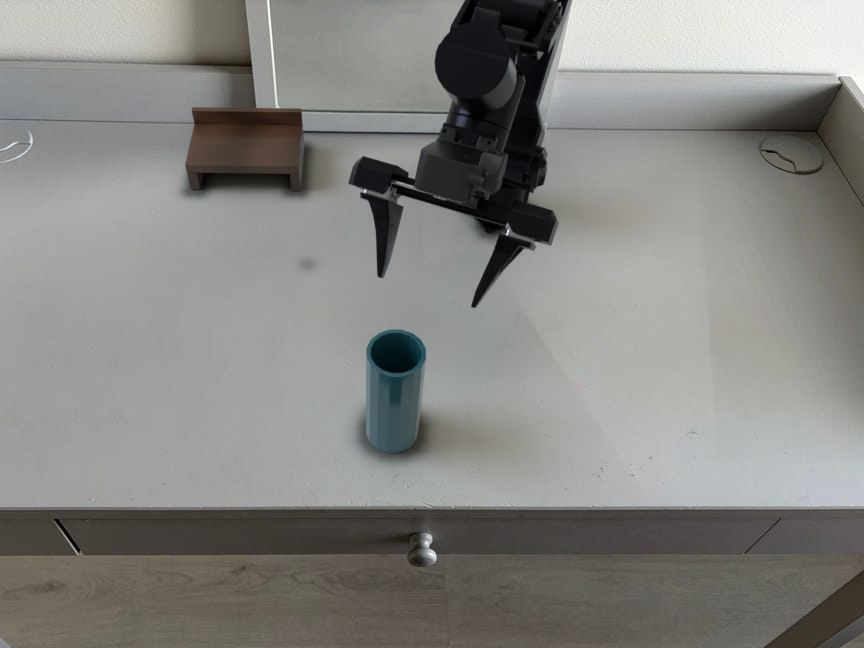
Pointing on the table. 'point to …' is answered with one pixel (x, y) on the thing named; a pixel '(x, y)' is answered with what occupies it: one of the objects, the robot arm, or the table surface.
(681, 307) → the table surface
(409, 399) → the teal cylindrical vase
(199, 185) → the shelf
